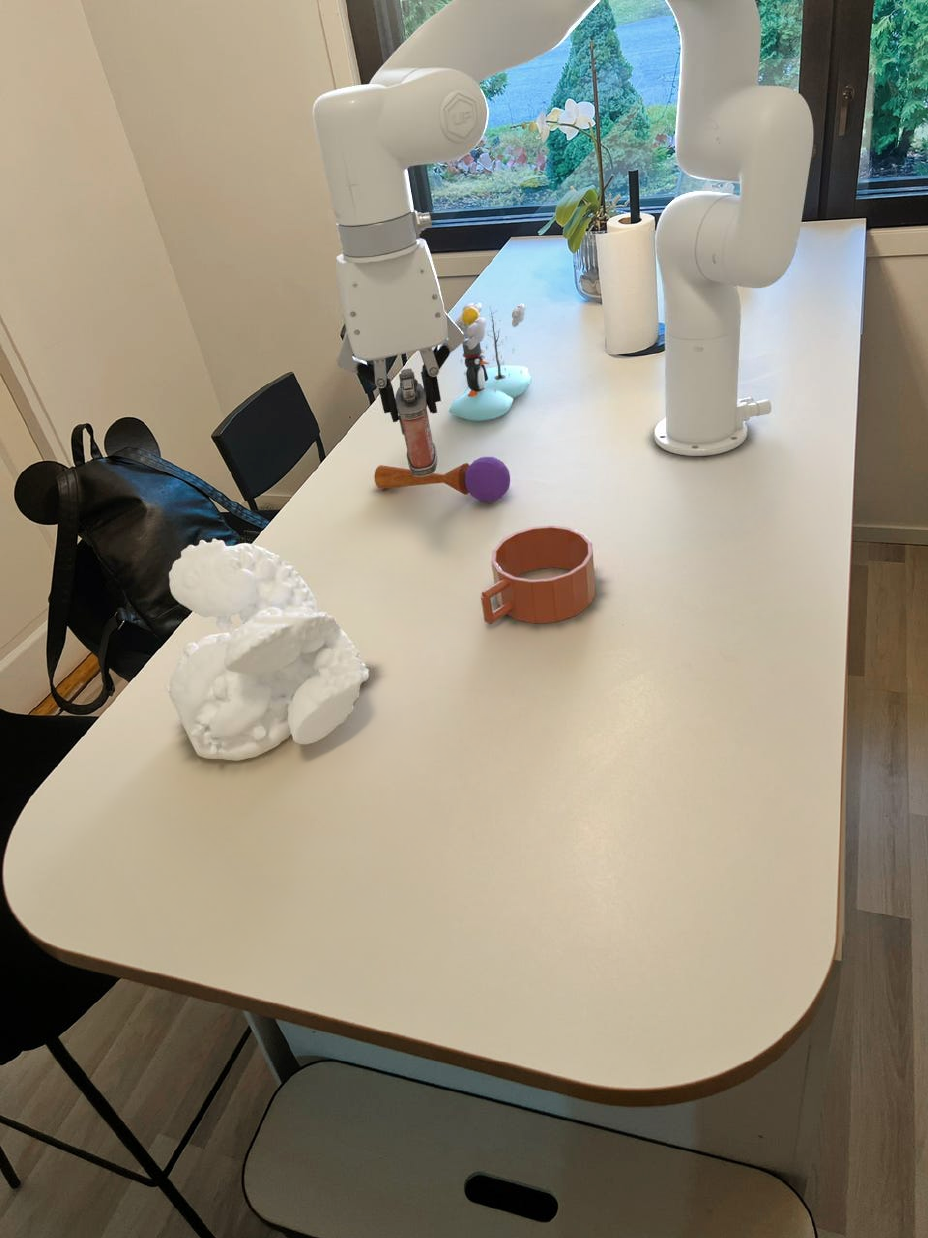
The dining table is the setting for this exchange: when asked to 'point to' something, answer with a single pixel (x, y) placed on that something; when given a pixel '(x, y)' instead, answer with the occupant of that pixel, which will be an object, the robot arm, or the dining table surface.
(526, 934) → the dining table surface
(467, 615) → the dining table surface
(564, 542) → the mug
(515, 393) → the penguin figurine
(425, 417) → the lighter
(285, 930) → the dining table surface
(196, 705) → the cauliflower
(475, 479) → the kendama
